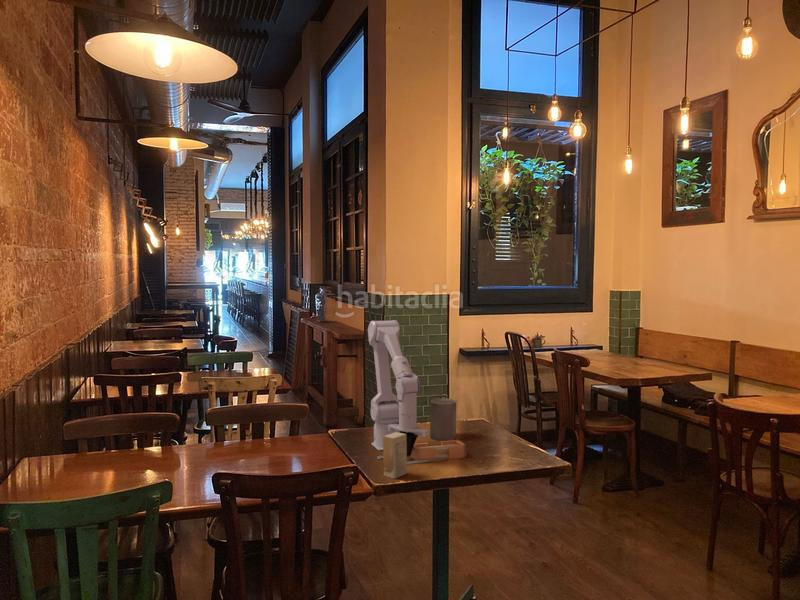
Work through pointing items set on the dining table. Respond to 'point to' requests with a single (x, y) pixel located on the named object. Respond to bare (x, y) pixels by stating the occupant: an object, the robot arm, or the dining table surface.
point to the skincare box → (395, 455)
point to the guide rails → (421, 460)
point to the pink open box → (455, 449)
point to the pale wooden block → (440, 450)
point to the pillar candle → (443, 419)
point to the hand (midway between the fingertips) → (407, 455)
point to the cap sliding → (422, 452)
